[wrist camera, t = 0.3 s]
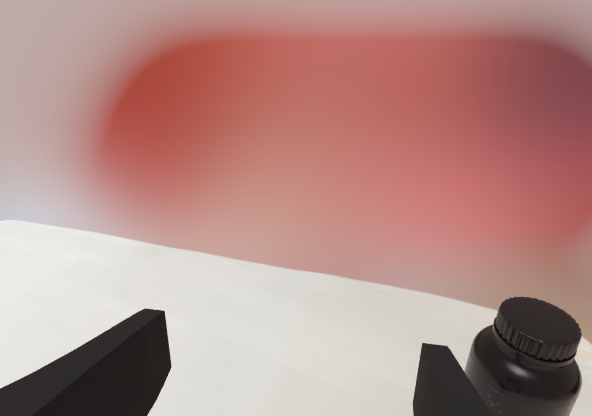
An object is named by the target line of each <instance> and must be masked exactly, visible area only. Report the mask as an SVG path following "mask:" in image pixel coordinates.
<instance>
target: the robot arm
mask: <svg viewBox="0 0 592 416" xmlns="http://www.w3.org/2000/svg"><path fill="white" fill-rule="evenodd" d="M170 369H171V359H170V351H169V343H168V335H167V327H166V319H165V311H161V310H153V309H143V310H141V311H139V312H138V313H136V314H134V315H132V316H131V317H129V318H127V319H125V320H124V321H122V322H120V323H119V324H117V325H115V326H114V327H112V328H110V329H109V330H107V331H105V332H104V333H102V334H100V335H99V336H97V337H95V338H94V339H92V340H90V341H89V342H87V343H85V344H84V345H82V346H80V347H79V348H77V349H75V350H73V351H72V352H70V353H68V354H66V355H64V356H62V357H61V358H59V359H57V360H55V361H53V362H52V363H50V364H48V365H46V366H44V367H42V368H41V369H39V370H37V371H35V372H33V373H31V374H29V375H27V376H25V377H23V378H21V379H19V380H17V381H15V382H13V383H11V384H9V385H7V386H5V387H3V388H0V416H147V415H148V413H149V411H150V410H151V408H152V407H153V405H154V403H155V401H156V400H157V398H158V395H159V393H160V391H161V389H162V387H163V385H164V383H165V381H166V378H167V376H168V374H169V372H170ZM413 413H414V416H495V415H494V413H493V412H492V411H491V409H490V408H489V407H488V405H487V404H486V403H485V401H484V400H483V399H482V397H481V396H480V394H479V393H478V391H477V390H476V389H475V387H474V386H473V384H472V383H471V381H470V380H469V378H468V377H467V375H466V374H465V372H464V371H463V369H462V368H461V366H460V365H459V363H458V361H457V360H456V358H455V357H454V355H453V354H452V352H451V350H450V349H449V348H448V347H447V346H442V345H434V344H426V343H422V349H421V355H420V361H419V368H418V374H417V380H416V387H415V393H414V399H413Z"/></svg>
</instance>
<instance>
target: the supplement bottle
mask: <svg viewBox="0 0 592 416" xmlns="http://www.w3.org/2000/svg"><path fill="white" fill-rule="evenodd" d="M581 336H582V334H581V329H580V328H579V325H578V323H576V321H575V320H574V319H573V318H572V317H571V316H570V315H569V314H567V313H566V312H565V311H563V310H561V309H560V308H558V307H556V306H554V305H552V304H550V303H547V302H545V301H543V300H538V299H536V298H529V297H514V298H509V299H506V300H505V301H504V302H502V304H501V306H500V307H499V310H498V313H497V316H496V318H495V320H494V323H493V325H490V326H488V327H486V328H484V329H483V330H481V331H480V332H479V333H478V334H477V335H476V337H475V338H474V340H473V343H472V346H471V349H470V353H469V357H468V360H467V364H466V367H465V371H464V372H465V374H466V375H467V377H468V378H469V380H470V381H471V383H472V384H473V386H474V387H475V389H476V390H477V391H478V393H479V394H480V396H481V397H482V399H483V400H484V401H485V403H486V404H487V405H488V407H489V408H490V409H491V411H492V412H493V413H494V415H495V416H569V415H570V413H571V411H572V408H573V406H574V404H575V402H576V400H577V397H578V395H579V392H580V389H581V386H582V377H581V372H580V369H579V367H578V365H577V363H576V361H575V359H574V357H575V355H576V352H577V347H578V345H579V342H580V339H581Z"/></svg>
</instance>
